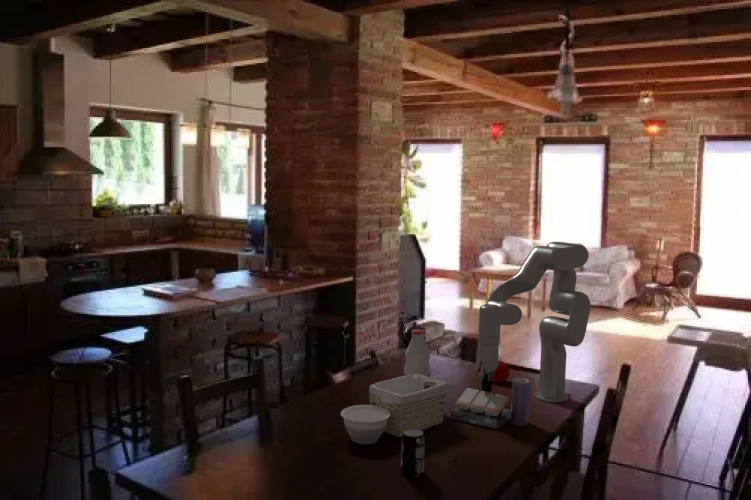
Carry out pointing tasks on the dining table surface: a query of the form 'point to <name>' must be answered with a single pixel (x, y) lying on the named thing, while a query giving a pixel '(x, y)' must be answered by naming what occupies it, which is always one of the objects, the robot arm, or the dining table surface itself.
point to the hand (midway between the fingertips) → (486, 390)
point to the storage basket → (410, 402)
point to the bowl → (365, 422)
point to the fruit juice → (417, 356)
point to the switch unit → (481, 417)
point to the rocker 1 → (467, 398)
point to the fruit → (501, 372)
